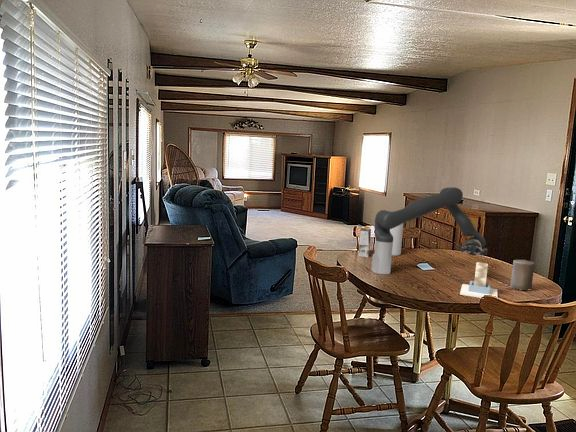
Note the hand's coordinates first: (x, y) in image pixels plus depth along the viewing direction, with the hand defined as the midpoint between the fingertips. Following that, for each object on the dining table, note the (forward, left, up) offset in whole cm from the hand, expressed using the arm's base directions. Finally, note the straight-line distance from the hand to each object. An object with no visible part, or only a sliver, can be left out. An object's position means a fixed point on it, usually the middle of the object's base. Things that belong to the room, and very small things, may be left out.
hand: (471, 252), depth 241 cm
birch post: (-4, -15, -15) cm, 22 cm away
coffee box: (-33, +62, -17) cm, 72 cm away
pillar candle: (+24, -8, -17) cm, 30 cm away
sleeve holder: (-4, -15, -17) cm, 23 cm away
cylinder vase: (-13, +67, -17) cm, 70 cm away
